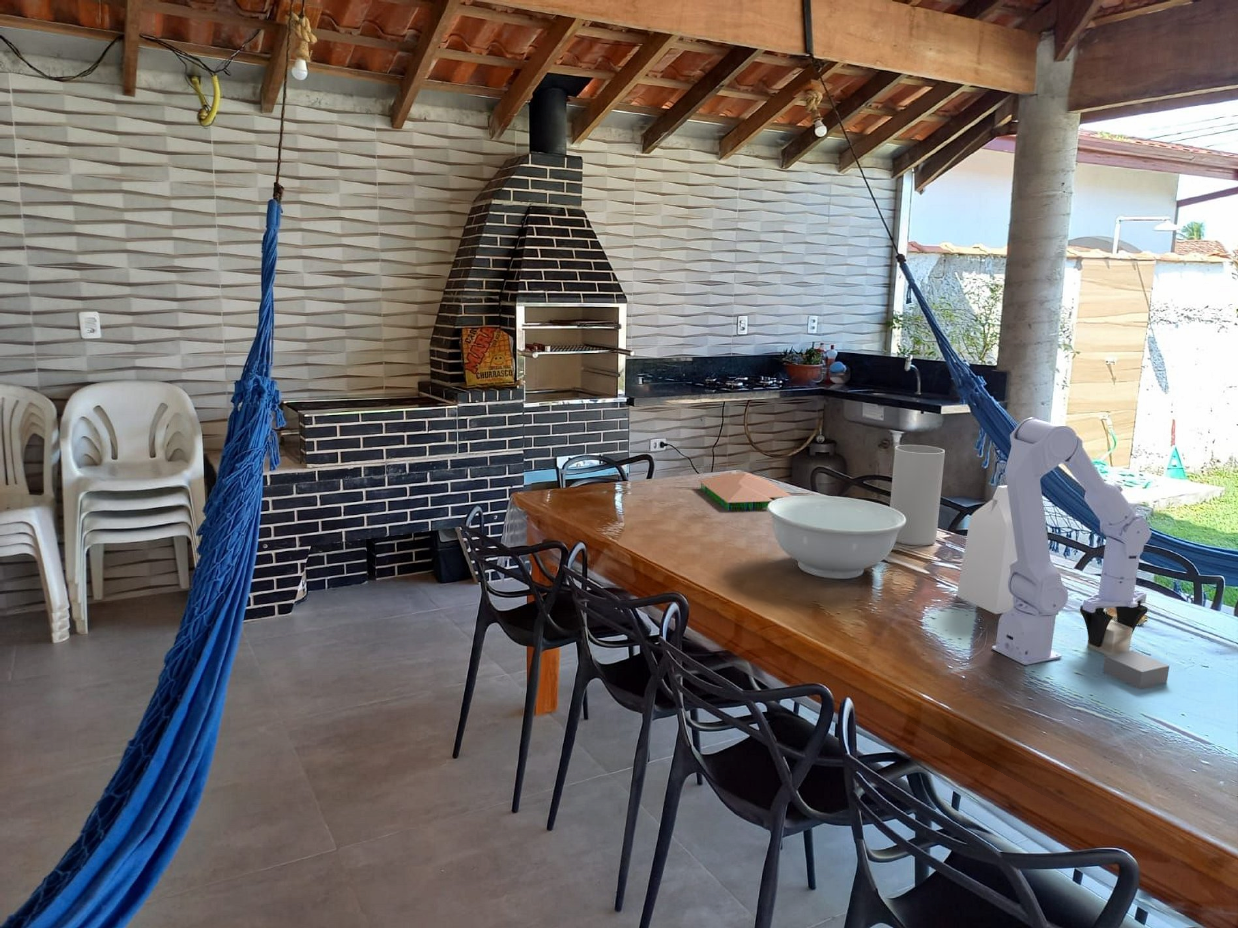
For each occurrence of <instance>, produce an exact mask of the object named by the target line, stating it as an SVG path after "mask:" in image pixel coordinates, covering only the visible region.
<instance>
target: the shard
mask: <svg viewBox="0 0 1238 928" xmlns="http://www.w3.org/2000/svg"><path fill="white" fill-rule="evenodd" d="M1105 611H1106V614H1108V615H1111V616H1113V618H1112V619H1111V620H1117V612H1116V607H1111V608H1106V609H1105ZM1148 618H1149V616H1148V615H1146V614H1145V615H1144V616H1143V617H1142V618H1141V619H1140V621H1139V622H1138V624H1140V625H1142V624H1144V622H1145V621H1146V620H1145V619H1147V620H1148Z"/></svg>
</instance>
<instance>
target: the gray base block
mask: <svg viewBox="0 0 1238 928" xmlns="http://www.w3.org/2000/svg"><path fill="white" fill-rule="evenodd" d="M1169 671H1170V665H1169V664H1166V663H1164V662H1161V661H1159V660H1156V659H1154V658H1152V657H1150V656H1147V655H1145V654H1143V653H1140V652H1137V651H1135V650H1133V649H1132V650H1131V649H1130V650H1129V651H1126V652H1122V653H1117V654H1112V655H1105V657H1104V663H1103V670H1102V673H1103V674H1105V675H1107V676H1110V677H1112V678H1113V679H1116V680H1118V681H1120V682H1122V683H1125V684H1127V685H1128V686H1129V685H1130V686H1132V687H1134V688H1136V689H1137V690H1142V689H1147V688H1150V687H1151V688H1152V687H1155V686H1159V685H1163V684H1167V683H1168V677H1169Z"/></svg>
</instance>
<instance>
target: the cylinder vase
mask: <svg viewBox="0 0 1238 928" xmlns="http://www.w3.org/2000/svg"><path fill="white" fill-rule="evenodd" d="M945 456H946V453H945V449H943V448H940V447H937V446H936V447H935V446H932V445H931V446H930V445H921V444H899V445H896V446H895V447H894V457H893V458H894V459H893V467H892V468H893V469H892V481H891V491H890V503H889V507H891V508H893V509H895V510H897V511H899V512H901V513H902V514H903V515H904V516H905V518H906V523H905V525H904V526H903V527H902V528H901V529H900V530H899V532H898V535H897V538H896V541H895V543H899V544H901V545H906V546H907V545H909V546H916V547H917V546H919V547H921V546H924V547H925V546H930V545H933V544H934V543H935V542H936V541H937V535H938V534H937V533H938V527H939V525H938V523H939V514H940V504H941V496H942V495H941V493H942V484H943V475H944V464H945Z"/></svg>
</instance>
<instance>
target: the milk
mask: <svg viewBox="0 0 1238 928" xmlns="http://www.w3.org/2000/svg"><path fill="white" fill-rule="evenodd" d="M995 489H996V490H995V491H994V494H993V497H992V499H990V500H989V501H988V502H986V503H985V504H983V505H981V506H980V507H979V508H978V509H976V510H975V511H973V513H972V514H971V516H970V517H969V523H968V527H967V528H968V529H967V532H966V533H967V535H966V538H965V539H966V540H965V543H964V544H965V545H964V550H963V551H964V552H963V557H962V562H961V568H960V574H959V578H958V585H957V591H956V596H957V597H959V598H960V599H963V600H965V601H967V602H969V603H971V604H974V605H976V606H977V607H979V608H982V609H984V610H986V611H988V612H991V613H993V614H995V615H998V614H1004V613H1005V612H1008V611H1010V610H1011V609H1012V607H1013V605H1014V602H1013V595H1012V594H1011V593H1010V591H1009V589H1008V580H1009V577H1010V565H1011V564H1012V563H1013V562H1014V561H1016V560H1017V553H1016V546H1015V539H1014V532H1013V524H1012V517H1011V510H1010V503H1009V496H1008V489H1007V484H1006V485H998V486H997V487H996V488H995Z"/></svg>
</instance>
